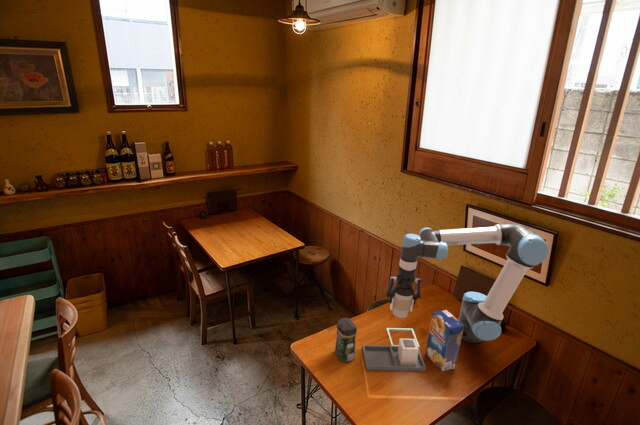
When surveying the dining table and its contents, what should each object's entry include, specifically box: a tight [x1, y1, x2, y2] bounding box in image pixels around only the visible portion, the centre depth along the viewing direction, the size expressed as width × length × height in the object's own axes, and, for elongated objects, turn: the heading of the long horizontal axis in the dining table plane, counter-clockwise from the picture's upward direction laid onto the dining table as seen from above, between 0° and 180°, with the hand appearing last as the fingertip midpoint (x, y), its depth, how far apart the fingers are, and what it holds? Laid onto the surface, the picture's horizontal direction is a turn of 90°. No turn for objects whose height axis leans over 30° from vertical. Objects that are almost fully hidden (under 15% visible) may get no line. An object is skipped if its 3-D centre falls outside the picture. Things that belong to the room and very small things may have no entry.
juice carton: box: [425, 309, 464, 372], centre depth 159 cm, size 12×8×24 cm, turn 20°
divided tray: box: [362, 344, 427, 372], centre depth 162 cm, size 26×14×3 cm, turn 91°
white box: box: [397, 337, 420, 366], centre depth 161 cm, size 7×7×9 cm
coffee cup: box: [392, 286, 415, 319], centre depth 165 cm, size 9×9×15 cm
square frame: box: [386, 327, 421, 349], centre depth 176 cm, size 14×14×2 cm
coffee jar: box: [334, 317, 358, 363], centre depth 162 cm, size 10×8×19 cm
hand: (400, 309), depth 167 cm, fingers closed on coffee cup, 8 cm apart
